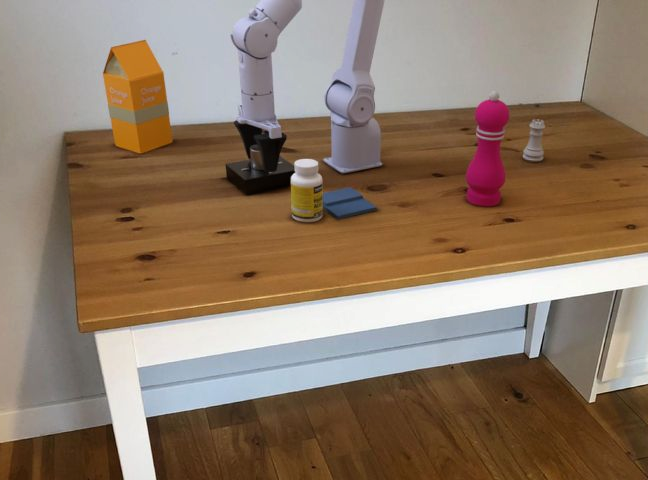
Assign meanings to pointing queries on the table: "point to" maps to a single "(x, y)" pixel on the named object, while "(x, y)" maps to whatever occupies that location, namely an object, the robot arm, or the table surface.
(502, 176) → the pepper mill
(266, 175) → the panel
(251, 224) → the table surface
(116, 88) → the orange juice
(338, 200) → the dish cloth
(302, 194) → the supplement bottle
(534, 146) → the rook chess piece
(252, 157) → the knob
